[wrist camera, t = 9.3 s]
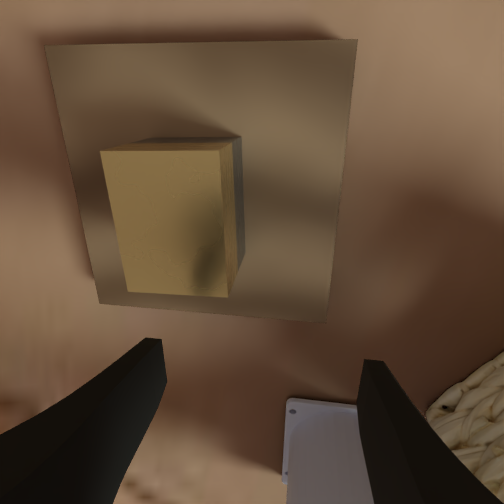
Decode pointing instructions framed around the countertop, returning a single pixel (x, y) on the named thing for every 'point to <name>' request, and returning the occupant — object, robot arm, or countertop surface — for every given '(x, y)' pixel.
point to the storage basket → (475, 423)
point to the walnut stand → (220, 125)
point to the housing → (178, 213)
